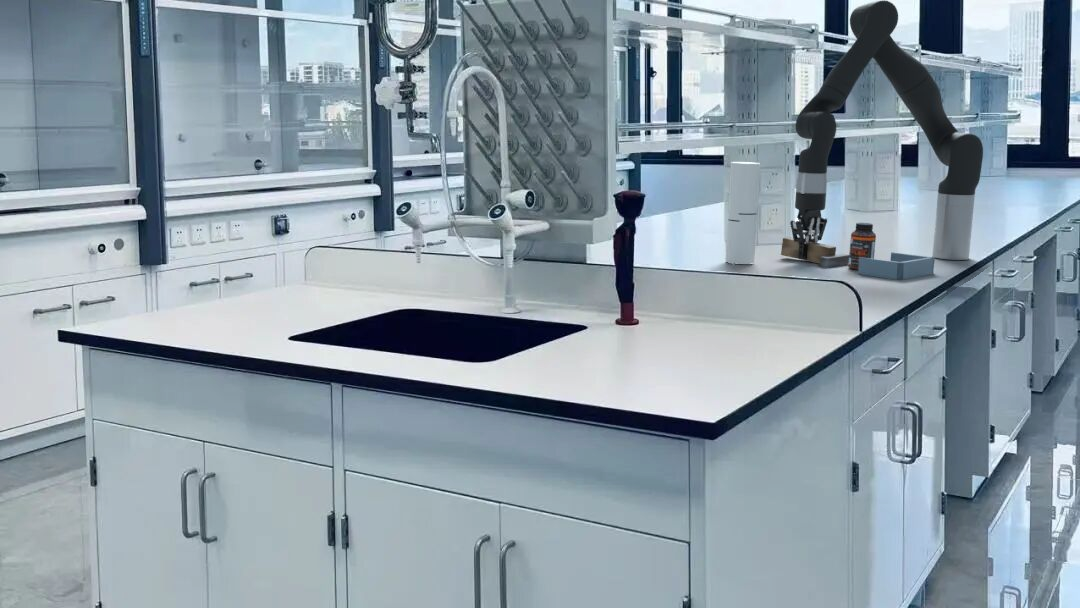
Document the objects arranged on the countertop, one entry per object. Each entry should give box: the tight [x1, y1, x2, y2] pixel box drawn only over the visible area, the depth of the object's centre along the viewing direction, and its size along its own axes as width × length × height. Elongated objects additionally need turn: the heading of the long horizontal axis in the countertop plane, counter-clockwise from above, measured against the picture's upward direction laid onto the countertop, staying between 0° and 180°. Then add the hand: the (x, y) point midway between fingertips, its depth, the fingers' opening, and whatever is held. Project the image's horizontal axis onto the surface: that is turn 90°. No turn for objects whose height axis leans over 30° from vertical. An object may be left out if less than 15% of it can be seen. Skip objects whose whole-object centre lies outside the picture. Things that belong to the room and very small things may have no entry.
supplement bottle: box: [847, 222, 877, 271], centre depth 275 cm, size 6×6×11 cm
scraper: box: [780, 236, 849, 269], centre depth 286 cm, size 16×10×4 cm, turn 44°
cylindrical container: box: [725, 161, 761, 264], centre depth 279 cm, size 7×7×25 cm
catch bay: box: [857, 251, 936, 281], centre depth 269 cm, size 11×16×4 cm
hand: (806, 257), depth 287 cm, fingers closed on scraper, 3 cm apart
